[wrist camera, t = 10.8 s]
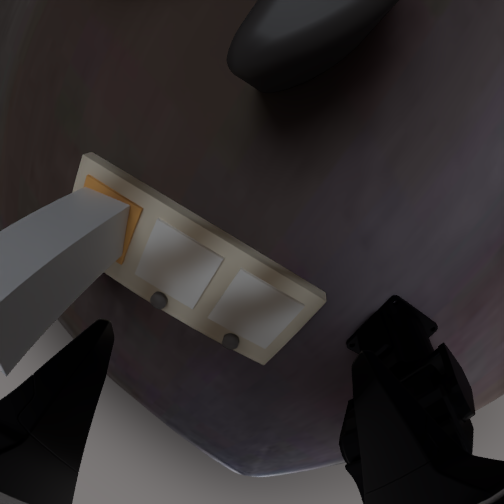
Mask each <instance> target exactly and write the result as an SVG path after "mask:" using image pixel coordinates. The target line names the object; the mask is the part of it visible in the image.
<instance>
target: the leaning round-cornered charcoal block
mask: <svg viewBox="0 0 504 504" xmlns="http://www.w3.org/2000/svg"><path fill="white" fill-rule="evenodd" d="M398 1H399V0H258V1H257V2H256V4H255V5H254V7H253V8H252V9H251V11H250V12H249V14H248V15H247V17H246V18H245V20H244V21H243V23H242V24H241V26H240V27H239V29H238V31H237V32H236V34H235V36H234V38H233V40H232V43H231V45H230V48H229V51H228V55H227V64H228V67H229V69H230V70H231V72H232V73H233V74H234V75H236V76H237V77H239V78H240V79H242V80H244V81H245V82H247V83H248V84H250V85H251V86H253V87H254V88H256V89H257V90H259V91H261V92H264V93H271V92H277V91H281V90H285V89H288V88H291V87H294V86H297V85H299V84H301V83H304V82H306V81H308V80H310V79H312V78H314V77H316V76H318V75H319V74H321V73H323V72H324V71H326V70H328V69H329V68H331V67H332V66H334V65H335V64H337V63H338V62H339V61H341V60H342V59H343V58H344V57H346V56H347V55H348V54H349V53H350V52H351V51H353V50H354V49H355V48H356V47H357V46H358V45H359V44H360V43H361V42H362V41H363V39H364V38H365V37H366V36H367V35H368V34H369V33H370V31H371V30H372V29H373V28H374V27H375V26H376V25H377V24H378V22H379V21H380V20H381V19H382V18H383V17H384V16H385V15H386V14H387V13H388V12H389V10H390V9H391V8H392V7H393V6H394V5H395V4H396V3H397V2H398Z"/></svg>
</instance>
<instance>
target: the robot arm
mask: <svg viewBox="0 0 504 504" xmlns="http://www.w3.org/2000/svg"><path fill="white" fill-rule="evenodd" d="M396 300H397V302H395V303H393V302H394V301H396ZM432 327H433V328H432ZM437 329H438V326H437V324H436V323H435V322H434V321H432V320H431V319H430V318H428V317H427V316H426V315H424V314H423V313H422V312H420V311H419V310H417V309H416V308H415V307H413V306H412V305H410V304H409V303H408V302H406V301H405V300H404V299H402V298H401V297H399V296H397V295H394V296H392V297H391V298H390V299H389V300H388V301H387V302H386V303H385V304H384V305H383V306H382V307H381V308H380V309H379V310H378V311H377V312H376V313H375V314H374V315H373V316H372V317H371V318H370V319H369V320H368V321H367V322H366V323H365V324H364V325H362V326H361V327H360V328H359V329H358V330H357V332H356V333H355V334H354V335H353V336H352V337H350V338H349V339H348V340H347V342H346V344H347V348H348V349H350V350H352V351H354V352H356V353H358V354H359V355H358V356H357V358H356V359H355V361H354V362H353V365H352V382H353V399H351V400H349V401H348V405H347V409H346V414H345V418H344V422H343V426H342V430H341V433H340V439H339V446H340V450H341V453H342V456H343V458H344V460H345V462H346V463H347V464H346V465H345V468H346V470H347V471H348V472H349V473H350V475H351V476H352V477H353V479H354V481H355V482H356V484H357V486H358V489H359V491H360V495H361V497H362V501H363V504H504V461H500V460H494V459H488V458H483V457H478V456H474V455H472V448H473V430H474V429H473V426H472V423H471V420H470V418H471V417H472V416H474V415H475V407H474V400H473V393H472V389H471V386H470V384H469V382H468V380H467V378H466V375H465V373H464V371H463V369H462V367H461V366H460V365H459V363H458V362H457V360H456V359H455V357H454V356H453V354H452V353H451V352H450V350H449V349H448V347H447V346H446V345H445V343H442V344H441V345H439V346H438V348H437V349H436V350H435V351H434V349H433V347H432V345H431V342H430V340H429V337H430V336H431V335H432V334H433V333H435V332H436V330H437ZM113 343H114V333H113V329H112V324H111V322H110V321H109V320H106V319H101V318H100V319H98V320H97V321H95V322H94V323H93V324H92V325H90V326H89V327H88V328H87V329H86V330H84V331H83V332H82V333H81V334H80V335H78V336H77V337H76V338H75V339H73V340H72V341H71V342H70V343H69V344H68V345H66V346H65V347H64V348H63V349H62V350H60V351H59V352H58V353H57V354H56V355H55V356H53V357H52V358H51V359H50V360H49V361H48V362H46V363H45V364H44V365H43V366H42V367H41V368H39V369H38V370H37V371H36V372H35V373H34V375H31V376H30V377H29V378H28V379H27V380H26V381H24V382H23V383H22V384H21V385H20V386H18V387H17V388H16V389H15V390H13V391H12V392H11V393H9V394H8V395H7V396H6V397H4V398H2V399H1V400H0V504H72V501H73V496H74V491H75V486H76V482H77V477H78V472H79V468H80V464H81V460H82V455H83V452H84V448H85V444H86V440H87V437H88V433H89V430H90V426H91V423H92V419H93V416H94V413H95V409H96V406H97V403H98V400H99V396H100V394H101V390H102V387H103V384H104V381H105V378H106V374H107V369H108V365H109V360H110V356H111V352H112V347H113ZM351 343H354V344H351Z"/></svg>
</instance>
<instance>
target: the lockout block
mask: <svg viewBox="0 0 504 504" xmlns="http://www.w3.org/2000/svg"><path fill="white" fill-rule="evenodd" d="M129 210H130V205H128V204H126V203H124V202H121V201H119V200H116V199H114V198H112V197H109V196H107V195H104V194H102V193H99V192H97V191H95V190H92V189H90V188H87V187H84V188H81V189H79V190H77V191H75V192H73V193H71V194H69V195H67V196H65V197H63V198H60V199H58V200H56V201H54V202H52V203H51V204H49V205H47V206H45V207H43V208H41V209H39V210H37V211H35V212H33V213H31V214H30V215H28V216H26V217H24V218H22V219H21V220H19V221H17V222H15V223H14V224H12V225H10V226H8V227H7V228H5V229H3V230H2V231H0V371H1V372H2V373H3V374H4V375H6V376H7V375H8V374H9V373H10V372H11V370H12V369H13V368H14V367H15V365H16V364H17V363H18V362H19V361H20V360H21V358H22V357H23V356H24V355H25V354H26V353H27V351H28V350H29V349H30V348H31V347H32V346H33V345H34V343H35V342H36V341H37V340H38V339H39V338H40V336H42V335H43V334H44V332H45V331H46V330H47V329H48V328H49V327H50V326H51V325H52V324H53V323H54V322H55V321H56V320H57V318H58V317H59V316H60V315H61V314H62V313H63V312H64V311H65V310H66V309H67V308H68V307H69V306H70V305H71V304H72V303H73V302H74V301H75V300H76V299H77V298H78V297H79V296H80V295H81V294H82V293H83V292H84V291H85V290H86V289H87V288H88V287H89V286H90V285H91V284H92V283H93V282H94V281H95V280H96V279H97V278H98V277H99V276H100V275H101V274H102V273H103V272H105V271H106V270H107V269H108V268H109V267H110V266H111V265H112V264H113V263H114V262H115V261H116V260H117V259H118V258H120V257H121V256H122V253H123V246H124V239H125V233H126V227H127V221H128V215H129Z"/></svg>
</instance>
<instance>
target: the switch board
mask: <svg viewBox="0 0 504 504" xmlns="http://www.w3.org/2000/svg"><path fill="white" fill-rule="evenodd" d="M84 187H87V188H90V189H92V190H95V191H97V192H99V193H102V194H104V195H107V196H109V197H112V198H114V199H116V200H119V201H121V202H124V203H126V204H128V205H130V210H129V215H128V221H127V227H126V233H125V239H124V246H123V253H122V256H121V257H120V258H118V259H117V260H116V261H115V262H114V263H113V264H112V265H111V266H110V267H109V268H108V269H107V270H106V271H105V272H104V273H106V274H107V275H109V276H110V277H112V278H113V279H114V280H116V281H117V282H119V283H120V284H122V285H123V286H125V287H127V288H128V289H130V290H131V291H133V292H134V293H136V294H137V295H139V296H140V297H142V298H144V299H145V300H147V301H148V302H150V303H151V304H152V306H154V307H155V308H157V309H161V310H163V311H165V312H166V313H168V314H170V315H171V316H173V317H175V318H176V319H178V320H180V321H182V322H183V323H185V324H187V325H188V326H190V327H192V328H194V329H195V330H197V331H199V332H201V333H203V334H204V335H206V336H208V337H210V338H212V339H213V340H215V341H217V342H219V343H221V344H222V345H223V346H224V347H225V348H227V349H230V350H234V351H236V352H238V353H240V354H242V355H244V356H246V357H248V358H250V359H252V360H254V361H256V362H258V363H260V364H262V365H265V364H266V363H267V362H268V361H269V360H270V359H271V358H272V357H273V356H274V355H275V354H276V353H277V352H278V351H279V350H280V349H281V348H282V347H283V346H284V345H285V344H286V343H287V342H288V341H289V340H290V339H291V338H292V337H293V336H294V335H295V334H296V333H297V332H298V331H299V330H300V329H301V328H302V327H303V326H304V325H305V324H306V323H307V322H308V321H309V320H310V319H311V318H312V317H313V315H314V314H315V313H316V312H317V311H318V310H319V309H320V308H321V307H322V306H323V305H324V304H325V303H326V302H327V300H326V292H324V291H322V290H321V289H319V288H317V287H316V286H314V285H312V284H311V283H309V282H307V281H306V280H304V279H303V278H301V277H299V276H298V275H296V274H294V273H293V272H291V271H289V270H288V269H286V268H284V267H283V266H281V265H279V264H278V263H276V262H274V261H273V260H271V259H269V258H268V257H266V256H264V255H263V254H261V253H260V252H258V251H256V250H255V249H253V248H251V247H250V246H248V245H246V244H245V243H243V242H241V241H240V240H238V239H236V238H235V237H233V236H231V235H230V234H228V233H226V232H225V231H223V230H221V229H220V228H218V227H216V226H215V225H213V224H211V223H210V222H208V221H206V220H205V219H203V218H201V217H200V216H198V215H196V214H195V213H193V212H191V211H190V210H188V209H186V208H185V207H183V206H181V205H180V204H178V203H176V202H175V201H173V200H171V199H170V198H168V197H166V196H165V195H163V194H161V193H160V192H158V191H156V190H155V189H153V188H151V187H150V186H148V185H146V184H145V183H143V182H141V181H140V180H138V179H136V178H135V177H133V176H131V175H130V174H128V173H126V172H125V171H123V170H121V169H120V168H118V167H116V166H115V165H113V164H111V163H110V162H108V161H106V160H105V159H103V158H101V157H100V156H98V155H96V154H94V153H93V152H90V153H87V154H83V156H82V159H81V163H80V166H79V170H78V173H77V177H76V181H75V185H74V188H73V192H75V191H77V190H79V189H81V188H84ZM73 192H72V193H73Z"/></svg>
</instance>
